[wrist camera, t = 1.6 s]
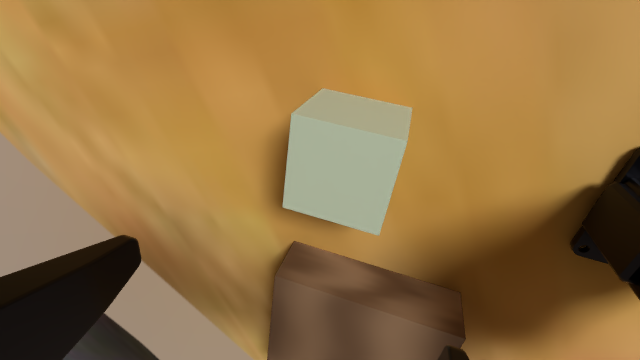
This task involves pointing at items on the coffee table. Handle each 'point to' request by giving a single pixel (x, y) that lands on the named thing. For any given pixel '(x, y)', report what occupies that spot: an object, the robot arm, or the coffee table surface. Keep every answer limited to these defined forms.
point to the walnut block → (358, 311)
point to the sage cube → (345, 158)
